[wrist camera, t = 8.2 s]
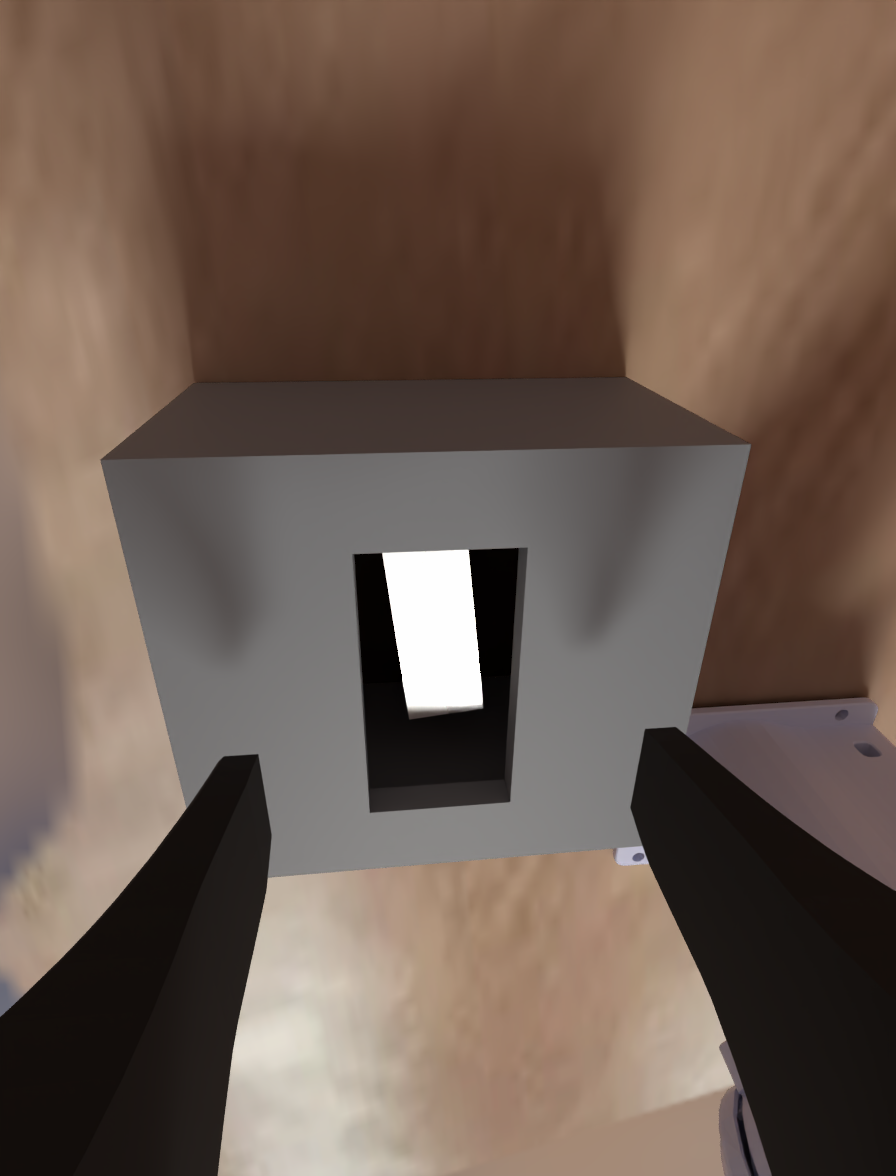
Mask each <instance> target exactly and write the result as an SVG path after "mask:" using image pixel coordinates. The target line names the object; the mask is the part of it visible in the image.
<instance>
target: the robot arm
mask: <svg viewBox="0 0 896 1176" xmlns="http://www.w3.org/2000/svg"><path fill="white" fill-rule="evenodd" d="M837 712H838V713H837ZM877 712H878V707H877V705H876V704H875V703H874V702H873V701H872V700H871V699H869V698H848V699H832V700H817V701H801V702H785V703H770V704H754V705H738V706H723V707H707V708H692V709H691V714H690V718H689V723H688V727H687V732H686V735H685V734H684V733H683V732H682V731H680V730H679V729H678V728H677V727H666V728H651V729H645V731H644V737H643V742H642V747H641V753H640V758H639V764H638V769H637V774H636V780H635V785H634V790H633V796H632V801H631V806H630V808H631V812H632V815H633V818H634V821H635V824H636V828H637V831H638V834H639V837H640V840H641V843H642V846H637V847H625V848H613V857H614V859H615V861H616V863H617V864H619V865H625V866H626V865H638V864H649V865H650V867H651V869H652V871H653V873H654V876H655V878H656V880H657V882H658V884H659V886H660V889H661V891H662V893H663V895H664V897H665V899H666V901H667V904H668V906H669V908H670V910H671V912H672V914H673V916H674V918H675V921H676V923H677V925H678V927H679V929H680V931H681V933H682V935H683V937H684V940H685V942H686V944H687V946H688V948H689V950H690V952H691V954H692V957H693V959H694V961H695V963H696V965H697V967H698V969H699V971H700V973H701V976H702V978H703V980H704V983H705V985H706V988H707V990H708V992H709V995H710V997H711V999H712V1002H713V1004H714V1007H715V1010H716V1013H717V1015H718V1018H719V1021H720V1024H721V1026H722V1029H723V1032H724V1035H725V1037H726V1041H725V1042H723V1043H722V1044H721V1045H720V1047H719V1049H720V1051H721V1053H722V1056H723V1058H724V1060H725V1063H726V1065H727V1067H728V1069H729V1072H730V1074H731V1076H732V1079H733V1081H734V1083H735V1086H733V1087H731V1088H730V1089H728V1090H727V1091H726V1093H725V1094H724V1096H723V1098H722V1099H721V1104H720V1109H719V1133H720V1148H721V1159H722V1165H723V1170H724V1175H725V1176H896V747H895V746H894V745H893V744H892V743H891V742H890V741H889V740H888V739H887V738H886V737H885V736H884V735H883V734H882V733H881V732H880V731H879V730H878V729H877V728H876V727H874V726H873V722H874V720H875V717H876V714H877ZM271 839H272V833H271V827H270V821H269V815H268V809H267V803H266V797H265V791H264V785H263V779H262V773H261V767H260V761H259V755H258V754H251V755H235V756H224V757H222V758H221V759H220V760H219V761H218V763H217V764H216V766H215V767H214V769H213V770H212V772H211V774H210V775H209V777H208V778H207V780H206V781H205V783H204V784H203V786H202V787H201V789H200V790H199V792H198V793H197V794H196V796H195V797H194V799H193V800H192V802H191V803H190V805H189V806H188V807H187V809H186V810H185V812H184V813H183V814H182V816H181V817H180V819H179V820H178V821H177V823H176V824H175V825H174V827H173V828H172V829H171V831H170V832H169V833H168V835H167V836H166V837H165V839H164V840H163V841H162V843H161V844H160V846H159V847H158V848H157V850H156V851H155V852H154V853H153V855H152V856H151V857H150V859H149V860H148V861H147V862H146V864H145V865H144V866H143V867H142V868H141V870H140V871H139V872H138V873H137V874H136V876H135V877H134V878H133V879H132V881H131V882H130V883H129V884H128V885H127V887H126V888H125V889H124V890H123V891H122V893H121V894H120V895H119V896H118V898H117V899H116V900H115V901H114V902H113V903H112V905H111V906H110V907H109V908H108V909H107V910H106V911H105V912H104V914H103V915H102V916H101V917H100V918H99V919H98V920H97V921H96V922H95V924H94V925H93V926H92V927H91V928H90V929H89V930H88V931H87V932H86V933H85V934H84V935H83V936H82V938H81V939H80V940H79V941H78V942H77V943H76V944H75V945H74V946H73V947H72V948H71V949H70V950H69V951H68V952H67V953H66V954H65V955H64V956H63V957H62V958H61V959H60V960H59V961H58V962H57V963H56V964H55V965H54V966H53V967H52V968H51V969H50V970H49V971H48V972H47V973H46V974H45V975H44V976H43V977H42V978H41V979H40V980H39V981H38V982H37V983H36V984H35V985H34V986H33V987H32V988H31V989H30V990H29V991H28V992H27V993H26V994H25V995H24V996H22V997H21V998H20V999H19V1000H18V1001H17V1002H16V1003H15V1004H14V1005H13V1006H12V1007H11V1008H10V1009H9V1010H8V1011H6V1012H5V1013H4V1014H3V1015H2V1016H1V1017H0V1176H217V1175H218V1166H219V1158H220V1149H221V1140H222V1132H223V1123H224V1115H225V1107H226V1099H227V1091H228V1084H229V1076H230V1068H231V1060H232V1053H233V1047H234V1041H235V1036H236V1030H237V1024H238V1019H239V1015H240V1010H241V1005H242V1001H243V996H244V992H245V987H246V983H247V978H248V973H249V969H250V964H251V960H252V955H253V951H254V946H255V941H256V937H257V932H258V927H259V923H260V918H261V913H262V909H263V904H264V899H265V894H266V888H267V879H268V870H269V860H270V850H271Z"/></svg>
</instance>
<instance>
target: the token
mask: <svg viewBox="0 0 896 1176" xmlns="http://www.w3.org/2000/svg"><path fill="white" fill-rule="evenodd" d="M382 555H383V561H384V567H385V573H386V579H387V586H388V592H389V598H390V604H391V610H392V616H393V622H394V629H395V635H396V641H397V647H398V653H399V659H400V665H401V672H402V678H403V684H404V690H405V696H406V702H407V708H408V715H409V720H410V719H416V718H423V717H430V716H437V715H443V714H450V713H457V712H463V711H470V710H477V709H483V700H482V689H481V679H480V668H479V657H478V646H477V636H476V625H475V614H474V603H473V593H472V582H471V571H470V561H469V550H447V551H421V552H395V553H382Z"/></svg>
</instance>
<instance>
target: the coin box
mask: <svg viewBox="0 0 896 1176" xmlns="http://www.w3.org/2000/svg"><path fill="white" fill-rule="evenodd" d="M750 448H751V444H750V443H748V442H746V441H744V440H742V439H740V438H739V437H737V436H735V435H733V434H731V433H729V432H727V431H725V430H724V429H722V428H720V427H718V426H716V425H714V424H712V423H711V422H709V421H707V420H705V419H703V418H701V417H699V416H698V415H696V414H694V413H692V412H690V411H688V410H686V409H685V408H683V407H681V406H679V405H677V404H675V403H673V402H672V401H670V400H668V399H666V398H664V397H662V396H660V395H659V394H657V393H655V392H653V391H651V390H649V389H647V388H646V387H644V386H642V385H640V384H638V383H636V382H634V381H633V380H631V379H629V378H627V377H607V378H531V379H455V380H380V381H304V382H229V383H193V384H192V385H191V386H190V387H188V388H187V389H186V390H185V391H184V392H182V393H181V394H180V395H179V396H177V397H176V398H175V399H174V400H173V401H171V402H170V403H169V404H168V405H167V406H165V407H164V408H163V409H162V410H160V411H159V412H158V413H157V414H156V415H154V416H153V417H152V418H151V419H149V420H148V421H147V422H146V423H145V424H143V425H142V426H141V427H140V428H139V429H137V430H136V431H135V432H134V433H132V434H131V435H130V436H129V437H128V438H126V439H125V440H124V441H123V442H122V443H120V444H119V445H118V446H117V447H115V448H114V449H113V450H112V451H111V452H109V453H108V454H107V455H106V456H105V457H103V458H102V459H101V464H102V468H103V472H104V476H105V481H106V485H107V489H108V493H109V497H110V501H111V505H112V509H113V513H114V517H115V521H116V525H117V529H118V533H119V537H120V541H121V545H122V549H123V553H124V557H125V561H126V565H127V570H128V574H129V578H130V582H131V586H132V590H133V594H134V598H135V602H136V606H137V610H138V614H139V618H140V622H141V626H142V630H143V634H144V638H145V642H146V646H147V650H148V654H149V658H150V663H151V667H152V671H153V675H154V679H155V683H156V687H157V691H158V695H159V699H160V703H161V707H162V711H163V715H164V719H165V723H166V727H167V731H168V735H169V739H170V743H171V747H172V751H173V756H174V760H175V764H176V768H177V772H178V776H179V780H180V784H181V788H182V792H183V796H184V800H185V804H186V808H187V807H188V806H189V805H190V803H191V802H192V800H193V799H194V797H195V796H196V794H197V793H198V792H199V790H200V789H201V787H202V786H203V784H204V783H205V781H206V780H207V778H208V777H209V775H210V774H211V772H212V770H213V769H214V767H215V766H216V764H217V763H218V761H219V760H220V759H221V758H222V757H224V756H235V755H251V754H258V755H259V761H260V767H261V773H262V779H263V785H264V791H265V797H266V803H267V809H268V815H269V821H270V827H271V833H272V839H271V850H270V860H269V870H268V878H269V877H281V876H293V875H304V874H316V873H328V872H340V871H352V870H364V869H376V868H388V867H400V866H411V865H423V864H435V863H447V862H459V861H471V860H483V859H495V858H506V857H518V856H530V855H542V854H554V853H566V852H578V851H590V850H601V849H613V848H625V847H637V846H642V843H641V840H640V837H639V834H638V831H637V828H636V824H635V821H634V818H633V815H632V812H631V808H630V806H631V801H632V796H633V790H634V785H635V780H636V774H637V769H638V764H639V758H640V753H641V747H642V742H643V737H644V731H645V729H651V728H666V727H677V728H678V729H679V730H680V731H682V732H683V733H684V734H685V735H686V732H687V727H688V723H689V718H690V714H691V709H692V705H693V701H694V696H695V692H696V687H697V683H698V678H699V674H700V670H701V665H702V661H703V656H704V652H705V647H706V643H707V638H708V634H709V630H710V625H711V621H712V616H713V612H714V607H715V603H716V599H717V594H718V590H719V585H720V581H721V576H722V572H723V568H724V563H725V559H726V554H727V550H728V545H729V541H730V537H731V532H732V528H733V523H734V519H735V514H736V510H737V506H738V501H739V497H740V492H741V488H742V483H743V479H744V475H745V470H746V466H747V461H748V457H749V452H750ZM499 548H519V555H518V571H517V587H516V603H515V619H514V635H513V651H512V667H511V676H493V677H480V679H481V689H482V700H483V709H477V710H470V711H463V712H457V713H450V714H443V715H437V716H430V717H423V718H416V719H410V720H409V715H408V708H407V702H406V696H405V690H404V684H403V682H389V683H371V684H363V680H362V665H361V650H360V635H359V620H358V605H357V590H356V575H355V560H354V554H369V553H395V552H421V551H447V550H473V549H499Z"/></svg>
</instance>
